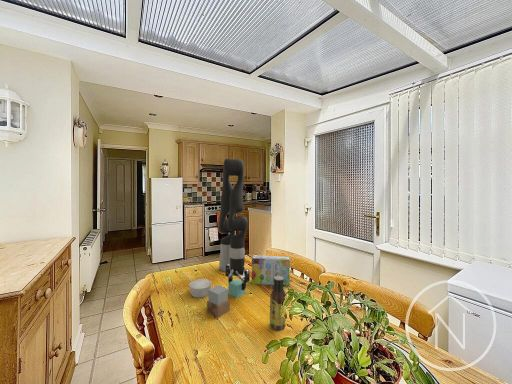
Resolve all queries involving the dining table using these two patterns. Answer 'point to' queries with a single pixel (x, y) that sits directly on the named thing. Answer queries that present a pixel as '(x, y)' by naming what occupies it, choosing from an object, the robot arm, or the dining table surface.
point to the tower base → (218, 308)
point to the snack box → (270, 269)
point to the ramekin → (200, 287)
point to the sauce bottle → (277, 304)
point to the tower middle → (217, 295)
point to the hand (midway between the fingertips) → (237, 287)
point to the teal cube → (236, 288)
